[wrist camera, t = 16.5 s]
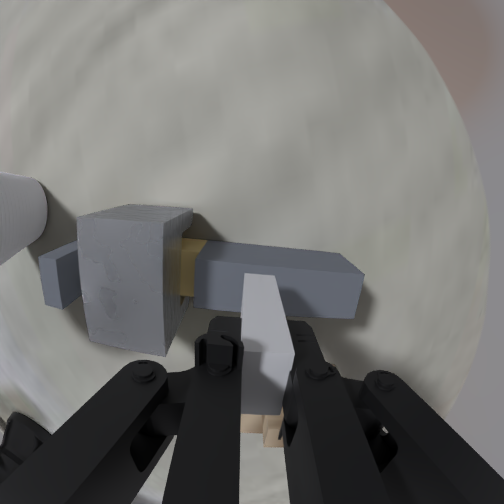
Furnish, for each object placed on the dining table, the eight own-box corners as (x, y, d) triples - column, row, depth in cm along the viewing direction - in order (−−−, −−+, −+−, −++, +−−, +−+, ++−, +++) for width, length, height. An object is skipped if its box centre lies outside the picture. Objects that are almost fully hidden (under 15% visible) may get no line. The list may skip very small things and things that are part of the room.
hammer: (102, 265, 20) (45, 304, 12) (100, 230, 19) (38, 256, 12) (332, 289, 21) (371, 343, 13) (339, 253, 20) (386, 293, 12)
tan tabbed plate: (239, 428, 25) (238, 463, 20) (248, 361, 23) (248, 400, 18) (309, 428, 25) (317, 462, 21) (333, 364, 23) (349, 399, 18)
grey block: (130, 296, 20) (89, 340, 14) (129, 204, 18) (76, 217, 12) (188, 304, 21) (165, 356, 14) (192, 208, 19) (163, 223, 12)
